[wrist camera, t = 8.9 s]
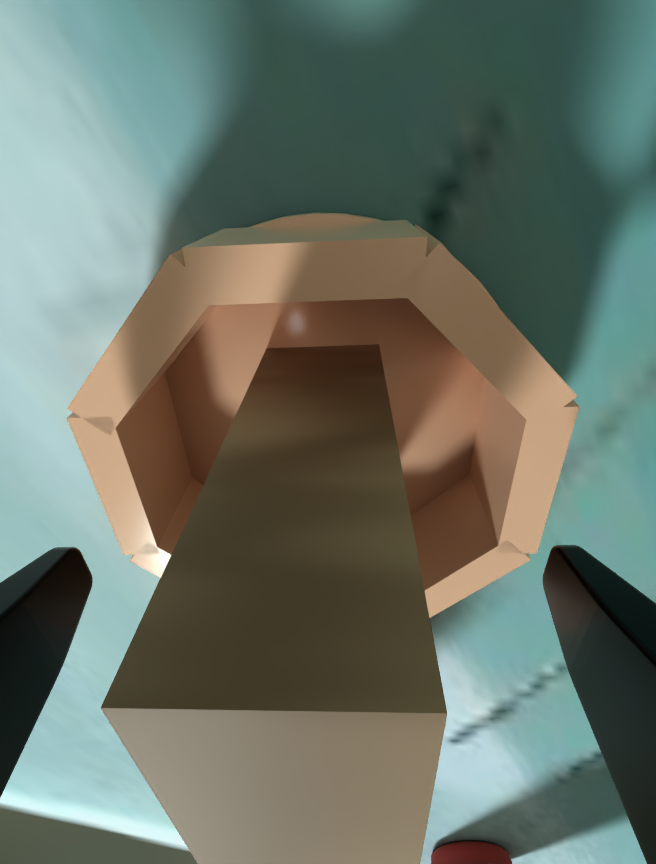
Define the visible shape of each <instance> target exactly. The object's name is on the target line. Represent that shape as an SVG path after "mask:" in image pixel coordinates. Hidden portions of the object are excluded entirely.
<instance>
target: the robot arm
mask: <svg viewBox="0 0 656 864" xmlns="http://www.w3.org/2000/svg"><path fill="white" fill-rule="evenodd" d="M91 587H92V575H91V572H90V570H89V568H88V566H87V564H86V562H85V560H84V558H83V556H82V554H81V552H80V550H79V549H77V548H75V547H57V548H53V549H51V550H50V551H48V552H47V553H45V554H43V555H42V556H40V557H39V558H37V559H36V560H34V561H33V562H31V563H30V564H28V565H27V566H25V567H24V568H22V569H21V570H19V571H18V572H16V573H15V574H13V575H12V576H10V577H9V578H7V579H5V580H4V581H2V582H1V583H0V797H1V795H2V793H3V791H4V789H5V787H6V784H7V782H8V780H9V778H10V776H11V774H12V772H13V770H14V768H15V766H16V763H17V761H18V759H19V757H20V755H21V753H22V751H23V749H24V747H25V744H26V742H27V740H28V738H29V736H30V734H31V732H32V730H33V728H34V726H35V723H36V721H37V719H38V717H39V715H40V713H41V711H42V709H43V707H44V705H45V702H46V700H47V698H48V696H49V694H50V692H51V690H52V688H53V686H54V683H55V681H56V679H57V677H58V675H59V673H60V670H61V668H62V666H63V663H64V661H65V658H66V656H67V653H68V651H69V648H70V645H71V643H72V640H73V637H74V634H75V632H76V629H77V626H78V623H79V621H80V618H81V615H82V612H83V610H84V607H85V604H86V601H87V599H88V596H89V593H90V590H91ZM543 587H544V591H545V594H546V598H547V601H548V605H549V608H550V611H551V615H552V618H553V622H554V625H555V628H556V632H557V635H558V638H559V642H560V645H561V649H562V652H563V655H564V659H565V662H566V665H567V668H568V671H569V674H570V676H571V679H572V682H573V684H574V687H575V689H576V692H577V694H578V697H579V699H580V701H581V704H582V706H583V709H584V711H585V714H586V716H587V718H588V721H589V723H590V726H591V728H592V731H593V733H594V736H595V738H596V740H597V743H598V745H599V748H600V750H601V753H602V755H603V757H604V760H605V762H606V765H607V767H608V770H609V772H610V774H611V777H612V779H613V782H614V784H615V787H616V789H617V792H618V794H619V796H620V799H621V801H622V804H623V806H624V809H625V811H626V813H627V816H628V818H629V821H630V823H631V826H632V828H633V831H634V833H635V835H636V838H637V840H638V843H639V845H640V848H641V850H642V852H643V855H644V857H645V860H646V862H647V864H656V603H655V602H653V601H652V600H651V599H649V598H648V597H647V596H645V595H644V594H643V593H641V592H640V591H639V590H637V589H636V588H635V587H633V586H632V585H631V584H629V583H628V582H627V581H625V580H624V579H623V578H621V577H620V576H619V575H617V574H616V573H615V572H613V571H612V570H611V569H609V568H608V567H606V566H605V565H604V564H602V563H601V562H600V561H598V560H597V559H596V558H594V557H593V556H592V555H590V554H589V553H588V552H586V551H585V550H584V549H582V548H581V547H579V546H576V545H556V546H554V547H553V548H552V549H551V551H550V555H549V558H548V561H547V564H546V567H545V570H544V574H543Z"/></svg>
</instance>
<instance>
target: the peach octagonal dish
mask: <svg viewBox="0 0 656 864" xmlns="http://www.w3.org/2000/svg"><path fill="white" fill-rule="evenodd" d="M374 344H379V347H380V352H381V357H382V363H383V368H384V374H385V379H386V385H387V390H388V395H389V401H390V406H391V412H392V417H393V423H394V428H395V433H396V439H397V444H398V450H399V455H400V461H401V466H402V471H403V477H404V482H405V488H406V493H407V498H408V504H409V509H410V515H411V520H412V526H413V531H414V536H415V542H416V547H417V553H418V558H419V564H420V569H421V574H422V580H423V585H424V591H425V596H426V602H427V607H428V612H429V618H431V617H432V616H434V615H436V614H437V613H439V612H441V611H443V610H444V609H446V608H448V607H450V606H451V605H453V604H455V603H457V602H458V601H460V600H462V599H464V598H465V597H467V596H469V595H471V594H472V593H474V592H476V591H478V590H479V589H481V588H483V587H485V586H486V585H488V584H490V583H492V582H493V581H495V580H497V579H498V578H500V577H502V576H504V575H505V574H507V573H509V572H511V571H512V570H514V569H516V568H518V567H519V566H521V565H523V564H525V563H526V562H528V561H530V560H531V559H530V556H529V554H528V553H537V551H538V548H539V544H540V541H541V537H542V534H543V530H544V527H545V524H546V520H547V517H548V513H549V510H550V506H551V503H552V500H553V496H554V493H555V489H556V486H557V482H558V479H559V476H560V472H561V469H562V465H563V462H564V459H565V455H566V452H567V448H568V445H569V441H570V438H571V435H572V431H573V428H574V424H575V421H576V417H577V414H578V411H579V406H578V405H577V404H576V403H575V402H574V401H573V400H574V399H575V398H576V397H578V396H577V395H576V394H575V393H574V392H573V391H572V390H571V388H570V387H569V386H568V385H567V384H566V383H565V382H564V381H563V379H562V378H561V377H560V376H559V375H558V374H557V373H556V372H555V370H554V369H553V368H552V367H551V366H550V365H549V364H548V363H547V361H546V360H545V359H544V358H543V357H542V356H541V355H540V354H539V352H538V351H537V350H536V349H535V348H534V347H533V346H532V345H531V343H530V342H529V341H528V340H527V339H526V338H525V337H524V335H523V334H522V333H521V332H520V331H519V330H518V329H517V328H516V326H515V325H514V324H513V323H512V322H511V321H510V320H509V319H508V317H507V316H506V315H505V314H504V313H503V312H502V311H501V310H500V308H499V307H498V305H497V303H496V302H495V301H494V299H493V298H492V297H491V295H490V294H489V293H488V291H487V290H486V289H485V287H484V286H483V285H482V283H481V282H480V281H479V280H478V279H477V278H476V277H475V276H474V275H473V274H472V273H471V272H470V271H469V270H467V269H466V268H465V267H464V266H463V265H462V264H461V263H460V262H459V261H458V260H457V259H455V258H454V257H453V255H452V254H451V253H450V252H449V251H448V250H447V249H446V248H445V246H444V245H443V244H442V243H441V242H440V241H438V240H437V239H436V238H434V237H433V236H432V235H430V234H429V233H428V232H426V231H425V230H424V229H422V228H421V227H420V226H418V225H417V224H416V225H415V226H413V225H412V224H411V223H409V222H408V221H407V220H392V221H382V220H379V219H376V218H371V217H365V216H360V215H354V214H348V213H322V212H314V213H306V214H298V215H289V216H283V217H280V218H276V219H273V220H269V221H265V222H262V223H258V224H255V225H253V226H251V227H242V228H224V229H222V230H220V231H217V232H215V233H213V234H211V235H209V236H206V237H204V238H202V239H200V240H197V241H195V242H193V243H191V244H189V245H186V246H184V247H182V249H180V250H178V251H176V252H174V253H171V254H170V255H169V256H168V258H167V259H166V261H165V262H164V264H163V265H162V267H161V268H160V270H159V271H158V273H157V274H156V276H155V277H154V279H153V280H152V282H151V283H150V285H149V286H148V288H147V289H146V291H145V292H144V294H143V295H142V297H141V298H140V300H139V301H138V303H137V304H136V306H135V307H134V309H133V310H132V312H131V313H130V315H129V316H128V318H127V319H126V321H125V322H124V324H123V325H122V327H121V328H120V330H119V331H118V333H117V334H116V336H115V337H114V339H113V340H112V342H111V343H110V345H109V346H108V348H107V349H106V351H105V352H104V354H103V355H102V357H101V358H100V360H99V361H98V363H97V364H96V366H95V367H94V369H93V370H92V372H91V373H90V375H89V376H88V378H87V379H86V381H85V382H84V384H83V385H82V387H81V388H80V390H79V391H78V393H77V394H76V396H75V397H74V399H73V400H72V402H71V403H70V405H69V406H68V408H67V409H69V410H70V411H72V412H73V413H72V414H71V415H70V416H69V417H67V420H68V422H69V425H70V427H71V429H72V432H73V434H74V437H75V439H76V441H77V444H78V446H79V449H80V451H81V454H82V456H83V458H84V461H85V463H86V466H87V468H88V470H89V473H90V475H91V478H92V480H93V482H94V485H95V487H96V490H97V492H98V495H99V497H100V499H101V502H102V504H103V507H104V509H105V511H106V514H107V516H108V519H109V521H110V523H111V526H112V528H113V531H114V533H115V536H116V538H117V540H118V543H119V545H120V548H121V550H122V552H123V555H132V557H131V559H130V561H131V562H133V563H134V564H136V565H138V566H140V567H142V568H143V569H145V570H147V571H149V572H151V573H152V574H154V575H156V576H158V577H160V578H161V576H162V574H163V572H164V570H165V567H166V565H167V563H168V561H169V559H170V557H171V554H172V552H173V550H174V548H175V546H176V544H177V541H178V539H179V537H180V535H181V533H182V531H183V528H184V526H185V524H186V522H187V520H188V518H189V515H190V513H191V511H192V509H193V507H194V505H195V502H196V500H197V498H198V496H199V494H200V491H201V489H202V487H203V485H204V483H205V481H206V478H207V476H208V474H209V472H210V470H211V468H212V465H213V463H214V461H215V459H216V457H217V455H218V452H219V450H220V448H221V446H222V444H223V442H224V439H225V437H226V435H227V433H228V431H229V429H230V426H231V424H232V422H233V420H234V418H235V416H236V413H237V411H238V409H239V407H240V405H241V403H242V400H243V398H244V396H245V394H246V392H247V389H248V387H249V385H250V383H251V381H252V379H253V376H254V374H255V372H256V370H257V368H258V366H259V363H260V361H261V359H262V357H263V355H264V353H265V350H266V348H290V347H318V346H346V345H374Z"/></svg>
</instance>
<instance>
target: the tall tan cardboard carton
mask: <svg viewBox="0 0 656 864" xmlns="http://www.w3.org/2000/svg"><path fill="white" fill-rule="evenodd" d="M101 709H102V711H103V712H104V714H105V716H106V717H107V719H108V720H109V722H110V724H111V725H112V727H113V728H114V730H115V732H116V733H117V735H118V736H119V738H120V740H121V741H122V743H123V744H124V746H125V748H126V749H127V751H128V752H129V754H130V756H131V757H132V759H133V760H134V762H135V764H136V765H137V767H138V768H139V770H140V772H141V773H142V775H143V776H144V778H145V780H146V781H147V783H148V784H149V786H150V788H151V789H152V791H153V792H154V794H155V796H156V797H157V799H158V801H159V802H160V804H161V805H162V807H163V809H164V810H165V812H166V813H167V815H168V817H169V818H170V820H171V821H172V823H173V825H174V826H175V828H176V829H177V831H178V833H179V834H180V836H181V837H182V839H183V841H184V842H185V844H186V845H187V847H188V849H189V850H190V852H191V853H192V855H193V856H194V858H195V860H196V861H197V863H198V864H420V861H421V855H422V850H423V844H424V839H425V833H426V828H427V822H428V816H429V811H430V805H431V800H432V794H433V789H434V783H435V778H436V772H437V767H438V761H439V756H440V750H441V745H442V739H443V734H444V728H445V722H446V717H447V710H446V705H445V699H444V694H443V688H442V683H441V677H440V672H439V667H438V661H437V656H436V650H435V645H434V640H433V634H432V629H431V623H430V618H429V612H428V607H427V602H426V596H425V591H424V585H423V580H422V574H421V569H420V564H419V558H418V553H417V547H416V542H415V536H414V531H413V526H412V520H411V515H410V509H409V504H408V498H407V493H406V488H405V482H404V477H403V471H402V466H401V461H400V455H399V450H398V444H397V439H396V433H395V428H394V423H393V417H392V412H391V406H390V401H389V395H388V390H387V385H386V379H385V374H384V368H383V363H382V357H381V352H380V347H379V344H374V345H346V346H318V347H290V348H266V350H265V353H264V355H263V357H262V359H261V361H260V363H259V366H258V368H257V370H256V372H255V374H254V376H253V379H252V381H251V383H250V385H249V387H248V389H247V392H246V394H245V396H244V398H243V400H242V403H241V405H240V407H239V409H238V411H237V413H236V416H235V418H234V420H233V422H232V424H231V426H230V429H229V431H228V433H227V435H226V437H225V439H224V442H223V444H222V446H221V448H220V450H219V452H218V455H217V457H216V459H215V461H214V463H213V465H212V468H211V470H210V472H209V474H208V476H207V478H206V481H205V483H204V485H203V487H202V489H201V491H200V494H199V496H198V498H197V500H196V502H195V505H194V507H193V509H192V511H191V513H190V515H189V518H188V520H187V522H186V524H185V526H184V528H183V531H182V533H181V535H180V537H179V539H178V541H177V544H176V546H175V548H174V550H173V552H172V554H171V557H170V559H169V561H168V563H167V565H166V567H165V570H164V572H163V574H162V576H161V578H160V580H159V583H158V585H157V587H156V589H155V591H154V594H153V596H152V598H151V600H150V602H149V604H148V607H147V609H146V611H145V613H144V615H143V617H142V620H141V622H140V624H139V626H138V628H137V630H136V633H135V635H134V637H133V639H132V641H131V643H130V646H129V648H128V650H127V652H126V654H125V656H124V659H123V661H122V663H121V665H120V667H119V669H118V672H117V674H116V676H115V678H114V680H113V683H112V685H111V687H110V689H109V691H108V693H107V696H106V698H105V700H104V702H103V704H102V706H101Z"/></svg>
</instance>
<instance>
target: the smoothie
mask: <svg viewBox="0 0 656 864" xmlns="http://www.w3.org/2000/svg"><path fill="white" fill-rule="evenodd" d="M431 864H512V861H511V859H510V856H509V853H508V852H507V851H506V850H505V849H503V848H501V847H499V846H497V845H495V844H491V843H487V842H478V841H461V842H454V843H449V844H446V845H443V846H441V847H439V848H437V849H436V850H435V851H434V852H433V853H432V855H431Z"/></svg>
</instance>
